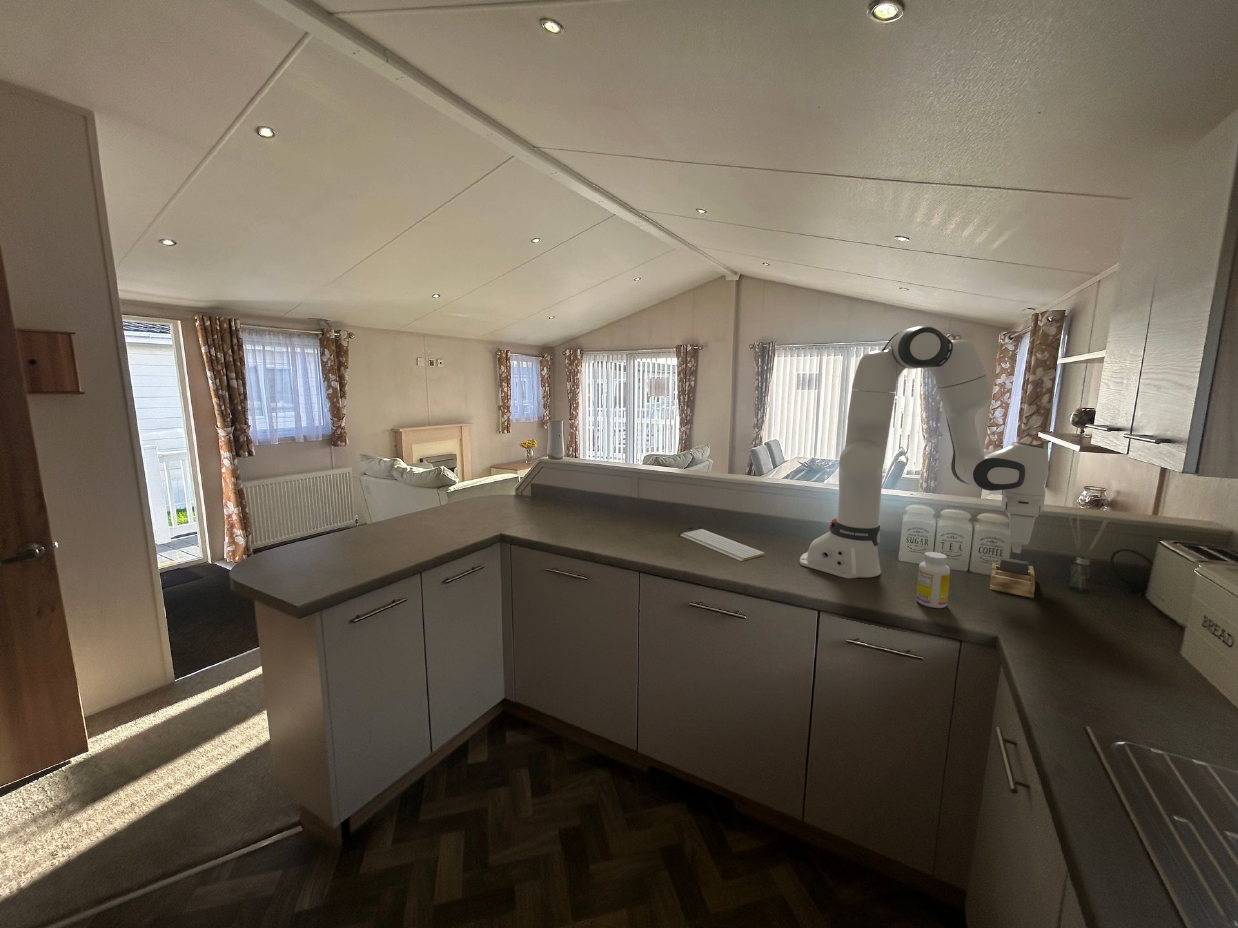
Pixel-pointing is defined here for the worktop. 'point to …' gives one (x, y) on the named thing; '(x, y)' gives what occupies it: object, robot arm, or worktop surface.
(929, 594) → the supplement bottle
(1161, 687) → the worktop surface
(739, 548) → the white keyboard
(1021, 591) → the box
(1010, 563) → the panel
